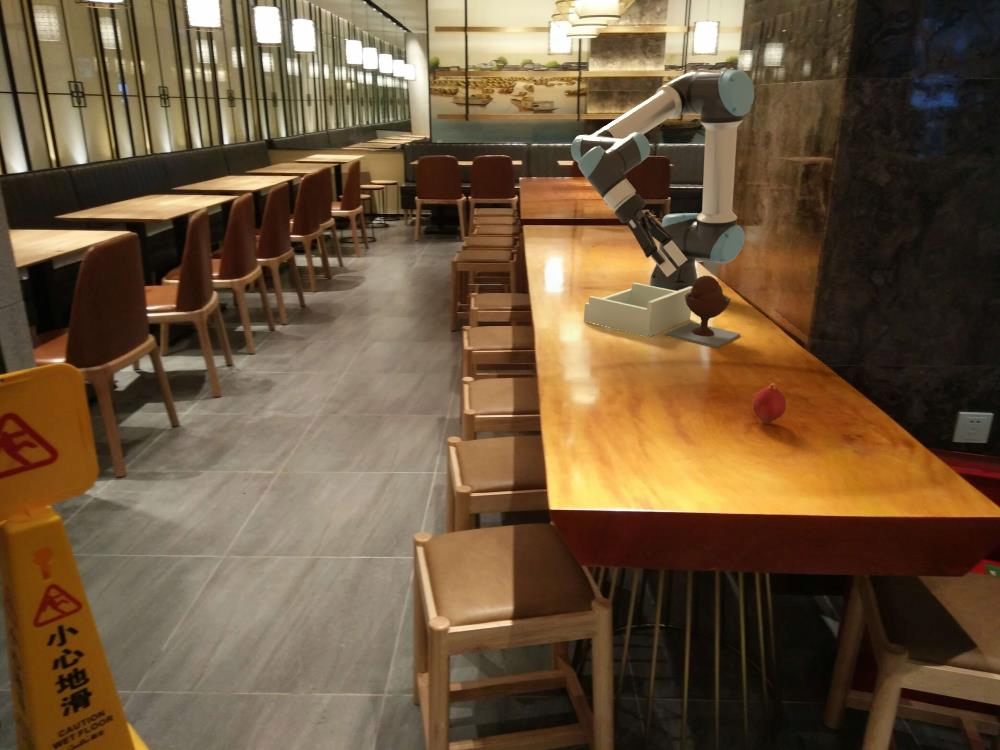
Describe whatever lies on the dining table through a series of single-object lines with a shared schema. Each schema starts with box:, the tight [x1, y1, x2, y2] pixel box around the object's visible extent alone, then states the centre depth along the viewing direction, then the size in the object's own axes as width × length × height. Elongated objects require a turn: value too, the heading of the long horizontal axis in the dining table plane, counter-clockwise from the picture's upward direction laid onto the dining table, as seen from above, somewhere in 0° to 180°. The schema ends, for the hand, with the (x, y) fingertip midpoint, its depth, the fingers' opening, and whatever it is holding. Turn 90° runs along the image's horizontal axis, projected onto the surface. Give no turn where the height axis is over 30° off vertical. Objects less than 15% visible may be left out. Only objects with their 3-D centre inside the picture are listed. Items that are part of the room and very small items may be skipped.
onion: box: [752, 383, 787, 424], centre depth 137 cm, size 6×6×8 cm
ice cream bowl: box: [685, 275, 732, 336], centre depth 187 cm, size 11×11×15 cm
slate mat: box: [664, 322, 741, 349], centre depth 189 cm, size 14×14×1 cm
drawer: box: [583, 282, 692, 338], centre depth 199 cm, size 23×19×9 cm
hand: (677, 268), depth 186 cm, fingers open, 13 cm apart
